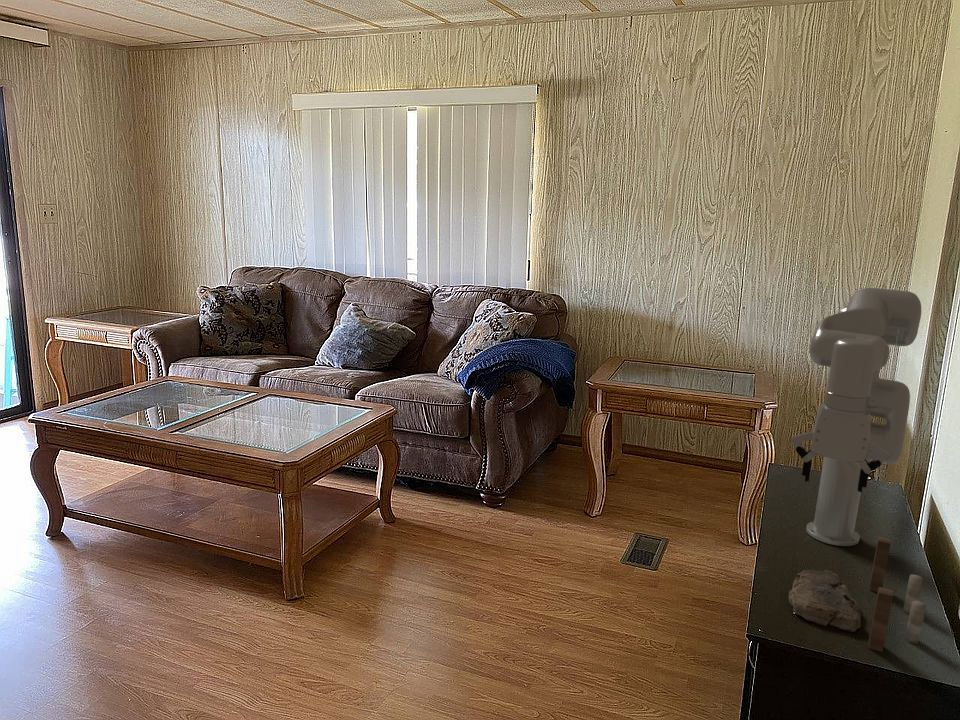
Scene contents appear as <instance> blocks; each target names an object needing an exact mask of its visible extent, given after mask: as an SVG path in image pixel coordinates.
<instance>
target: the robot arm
mask: <svg viewBox="0 0 960 720" xmlns="http://www.w3.org/2000/svg"><path fill="white" fill-rule="evenodd" d="M921 318H922V303H921V300H920V298H919V297H918V295H917V294H916V293H914V292H911V291H907V290H899V289H898V290H897V289H890V288H889V289H888V288H878V287H866V288H865V287H864V288H862V289H859V290H857V291H855V292H853V294H852V295H851V296H850V298H849V300H848V303H847V305H846V306H843V307H841V308H840V309H839V310H838V312H837V313H834V314H832V315H829V316H826V317H824V318H822V319H821V320H820V321H819V323H818V324H817V326H816V327H815V330H814V332H813V335H812V338H811V340H810V345H809V355H810V356H809V357H810V359H811V361H812V362H813V363H814V364H816V365H818V366H822V367H829V374H828V380H827V386H826V387H827V388H826V392H825V393H826V394H825V401H824V403H821V404H820V405H819V408H818V409H817V410H818V411H817V413H816V417H815V420H814V421H815V422H814V425H813V430H811V431H808V432H804V433H800V434H799V433H798V434H796V435H793V436H792V438H791V441H792V444H793V447H794V448H795V451H796V454H798V455H799V457H800V458H801V460H802V461H803V465H802V473H801V476H803V477H805V478H804V482H809V481H810V477H811V476H810V474H811V469H812V463H813V460H812V459H814V458H815V457H816V456H819V457H823V461H822V469H821V476H820V480H819V488H818V494H817V499H816V500H817V501H816V506H815V507H816V508H815V514H814V519H813V521H811V522H808V523H807V524H806V528H805V530H806V533H807V534H808V535H809V536H810V537H811V538H813V539H815V540H817V541H819V542H821V543H824V544H829V545H833V546H838V547H852V546H856V545H857V544H859V542H860V538H861V536H860V534H859V533H858V532H857V531H856V530H855V527H856V522H857V516H858V511H859V505H860V499H861V494H862V492H863V488H865V489H866V488H867V486H868V480H869V474H871V472H873V471H874V470H876V469H878V468H880V467H881V466H882V464H889V465H890V464H895V463H896V462H898V461H899V459H900V457H901V455H902V451H903V447H904V439H905V433H906V428H907V421H908V418H909V416H908V415H909V410H910V402H911V395H910V394H911V393H910V389H909V387H908V386H907V385H906V384H905V383H903V382H901V381H899V380H891V379H884V378H881V377H880V370H881V369H882V368H883V367H885V366H886V365H887V364H888V361H889V357H890V346H896V347H908V346H910V345H912V344H913V343H914V342H915V340H916V339H917V336H918V332H919V327H920V322H921ZM872 417H873V418H878V419H879V418H880V419H883V420H884V422H885V423H881V422H880V423H879V422H874V421H872ZM808 440H811V441H810V448H809V449H808V450H806V449H805V448H804V447H803V446H802V442H805V441H808Z"/></svg>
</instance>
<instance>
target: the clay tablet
mask: <svg viewBox="0 0 960 720" xmlns="http://www.w3.org/2000/svg"><path fill="white" fill-rule="evenodd" d="M791 586H792V587H791V588H792V589H791V590H789V592H788V602H789V604H790V606H792V611H793V613H795V614H796V615H798V616H800V617H801V618H803V619H804V620H806V621H808V620H809V622H810V621H812V623H815V624H818V625H822V626H825V627H826V626H828V625H829V626H832V627H836V628H838V629H840V630H843V631H847V632H851V633H855V632H856V631H857V630H858V629H860V628H861V623H862V620H861V619H862V618H861V617H862V616H861V615H862V614H861V612H860V605H859V603H858V601H856V600H855V599H854V597H852V595H851V594H850V591H849V588H848V586H847V584H846V583H845V582H844V580H843V578H841V577H840V576H839V574H837V573H836V572H834V571H830V570H828V569H827V570H826V569H820V570H819V569H808V568H807V569H804V570H802V571H800V572H798V573H797V574H795V579H794V580H793V583H792V585H791Z"/></svg>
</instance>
